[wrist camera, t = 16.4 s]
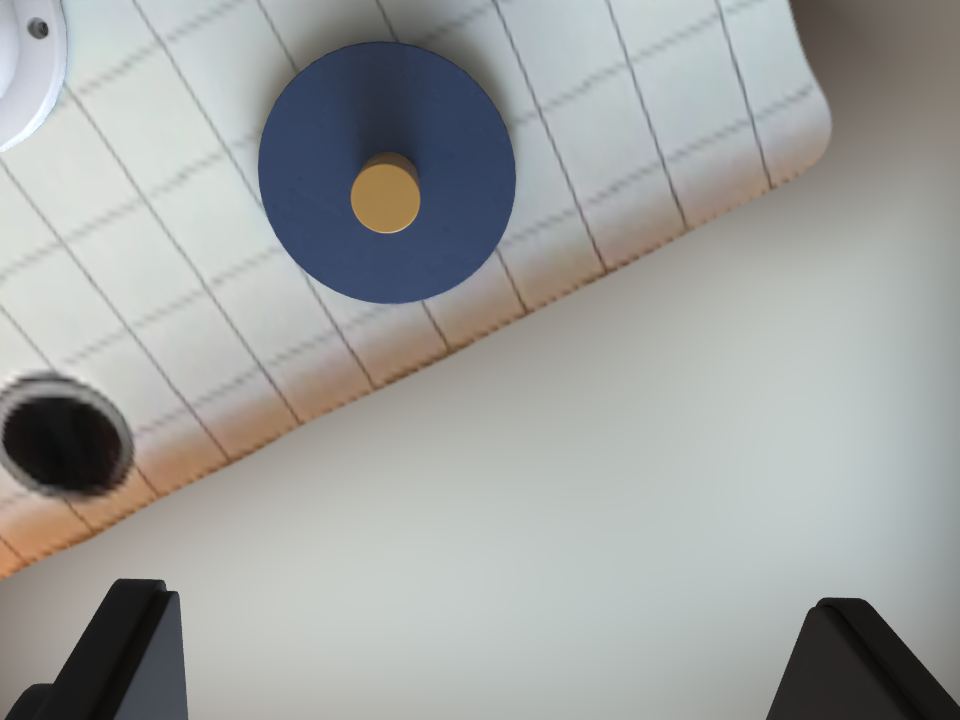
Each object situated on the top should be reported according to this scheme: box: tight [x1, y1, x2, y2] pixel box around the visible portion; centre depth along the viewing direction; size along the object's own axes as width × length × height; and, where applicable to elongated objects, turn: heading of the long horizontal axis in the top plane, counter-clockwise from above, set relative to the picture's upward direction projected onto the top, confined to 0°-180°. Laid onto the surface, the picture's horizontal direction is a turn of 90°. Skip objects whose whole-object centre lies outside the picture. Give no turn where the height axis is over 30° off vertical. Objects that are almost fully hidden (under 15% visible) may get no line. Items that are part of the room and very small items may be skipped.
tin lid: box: [258, 42, 516, 304], centre depth 31 cm, size 13×13×6 cm
